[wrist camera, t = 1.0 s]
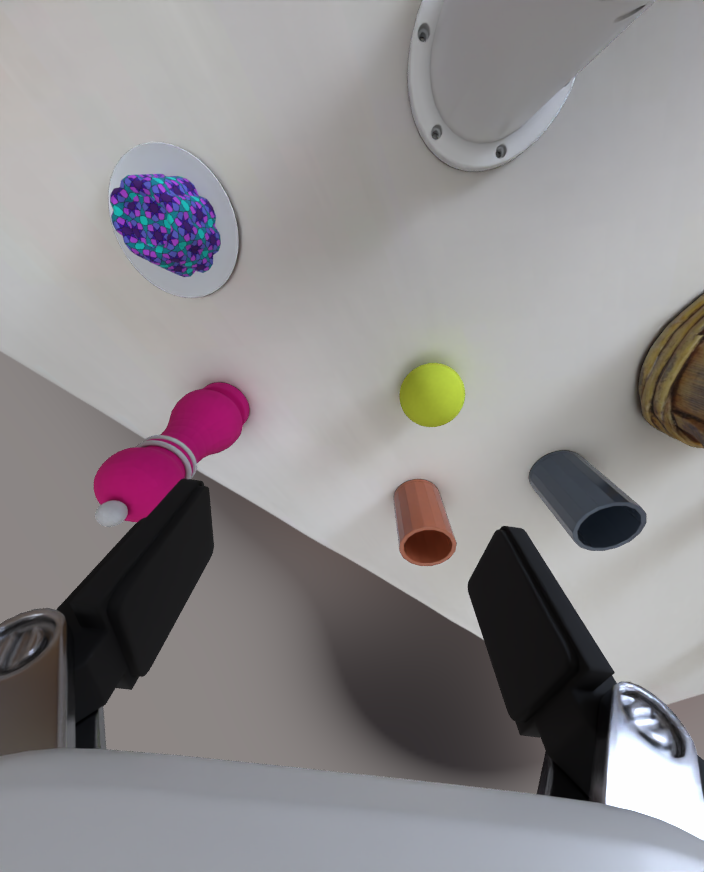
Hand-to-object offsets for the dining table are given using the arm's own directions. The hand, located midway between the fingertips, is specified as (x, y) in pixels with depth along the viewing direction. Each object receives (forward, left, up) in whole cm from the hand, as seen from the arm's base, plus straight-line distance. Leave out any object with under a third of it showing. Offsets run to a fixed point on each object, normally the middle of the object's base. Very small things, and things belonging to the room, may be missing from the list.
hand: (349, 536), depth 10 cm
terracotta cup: (+10, +20, -27) cm, 35 cm away
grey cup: (-6, +30, -27) cm, 41 cm away
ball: (-2, +8, -24) cm, 25 cm away
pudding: (+4, -21, -27) cm, 34 cm away
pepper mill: (+17, -8, -27) cm, 33 cm away
